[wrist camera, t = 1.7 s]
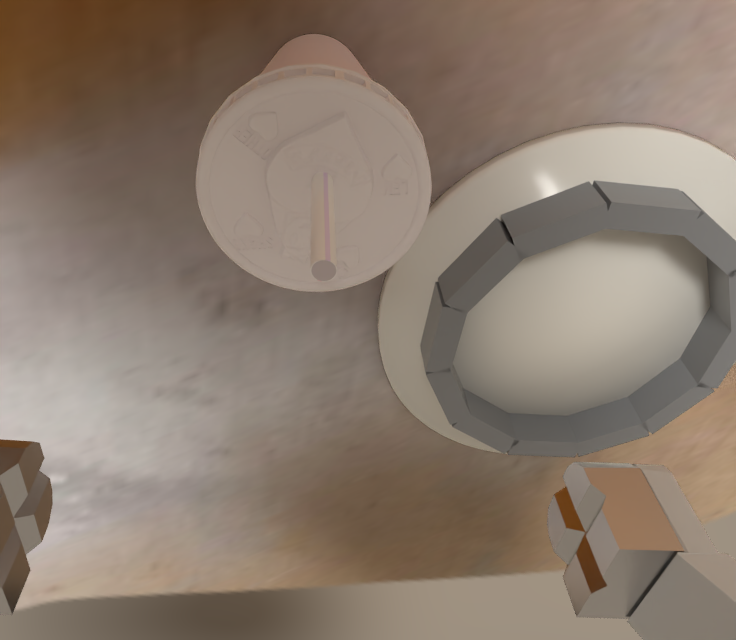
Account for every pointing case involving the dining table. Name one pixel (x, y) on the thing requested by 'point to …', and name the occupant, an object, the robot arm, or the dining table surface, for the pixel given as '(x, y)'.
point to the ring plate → (568, 292)
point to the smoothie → (313, 172)
